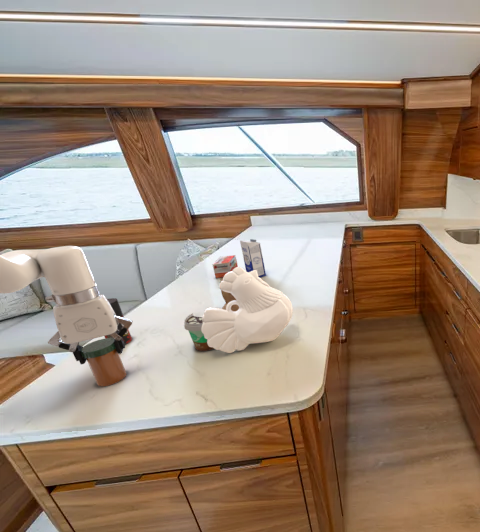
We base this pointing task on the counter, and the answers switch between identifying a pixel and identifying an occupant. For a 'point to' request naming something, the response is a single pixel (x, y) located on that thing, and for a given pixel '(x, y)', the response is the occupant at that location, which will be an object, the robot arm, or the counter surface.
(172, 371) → the counter surface
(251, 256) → the milk carton
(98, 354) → the lid
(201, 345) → the food container
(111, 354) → the jar
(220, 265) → the medicine box
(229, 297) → the stone cup
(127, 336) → the deodorant
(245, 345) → the decorative rooster
